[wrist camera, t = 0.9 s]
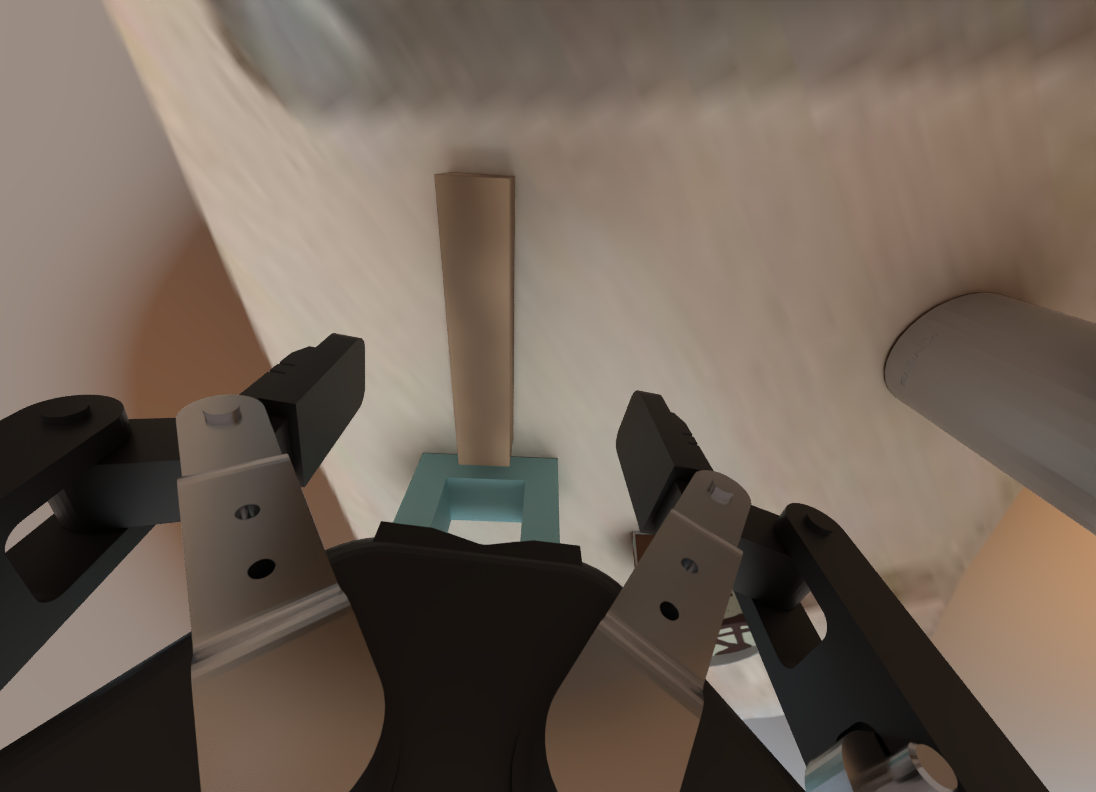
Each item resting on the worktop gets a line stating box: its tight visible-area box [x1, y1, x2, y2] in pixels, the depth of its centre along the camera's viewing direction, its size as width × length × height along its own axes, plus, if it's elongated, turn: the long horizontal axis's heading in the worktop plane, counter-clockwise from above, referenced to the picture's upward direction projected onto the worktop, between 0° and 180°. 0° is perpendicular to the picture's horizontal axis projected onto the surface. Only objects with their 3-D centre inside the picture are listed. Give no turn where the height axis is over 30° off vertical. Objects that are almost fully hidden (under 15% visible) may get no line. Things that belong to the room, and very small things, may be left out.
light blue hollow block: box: [393, 453, 560, 543], centre depth 31 cm, size 12×5×13 cm, turn 87°
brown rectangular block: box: [434, 172, 515, 466], centre depth 28 cm, size 4×20×4 cm, turn 177°
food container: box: [632, 531, 759, 667], centre depth 38 cm, size 12×6×10 cm, turn 90°
